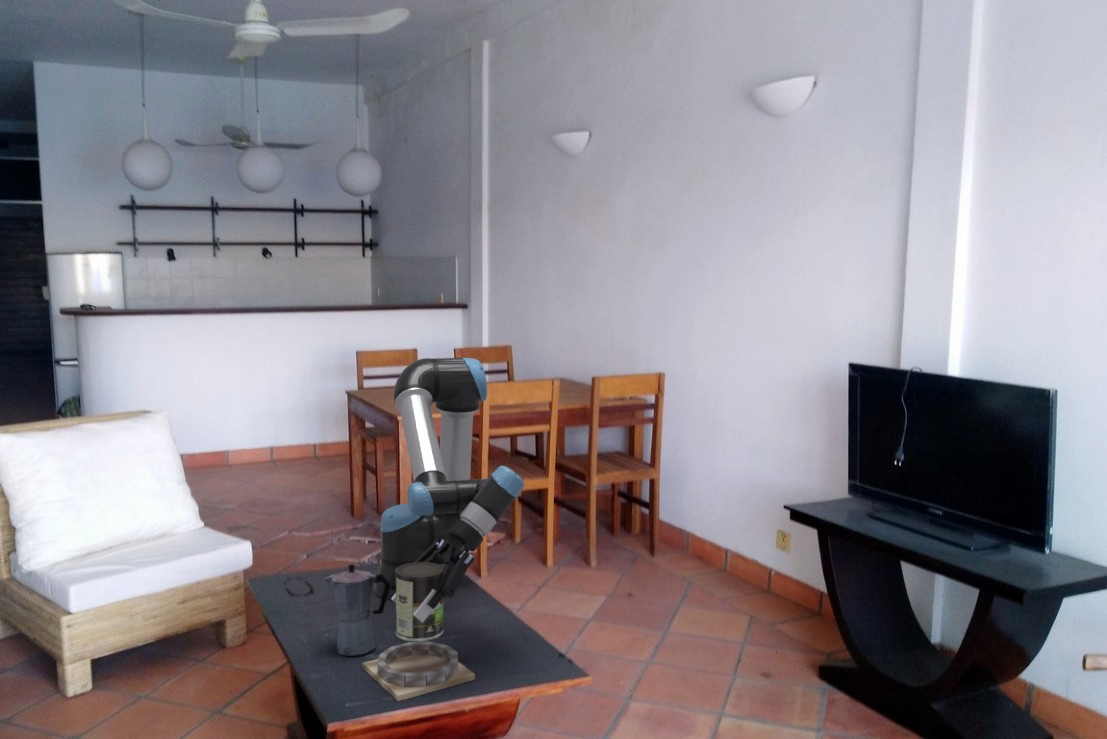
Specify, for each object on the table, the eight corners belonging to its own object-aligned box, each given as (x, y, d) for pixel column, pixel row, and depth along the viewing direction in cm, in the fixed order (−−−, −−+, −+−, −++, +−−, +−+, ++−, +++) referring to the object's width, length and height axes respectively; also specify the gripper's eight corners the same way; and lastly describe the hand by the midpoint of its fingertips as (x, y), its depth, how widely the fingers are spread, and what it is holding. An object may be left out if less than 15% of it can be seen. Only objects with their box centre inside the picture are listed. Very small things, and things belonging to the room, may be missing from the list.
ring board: (362, 668, 194) (362, 652, 194) (435, 649, 205) (436, 634, 204) (397, 701, 180) (398, 684, 179) (474, 679, 190) (475, 663, 190)
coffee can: (449, 625, 195) (450, 563, 193) (434, 644, 184) (434, 578, 183) (405, 621, 197) (405, 559, 195) (387, 639, 187) (387, 574, 185)
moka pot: (330, 639, 209) (330, 557, 207) (395, 641, 209) (395, 559, 206) (318, 656, 200) (317, 570, 197) (386, 658, 199) (386, 573, 197)
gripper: (508, 550, 188) (442, 637, 181) (457, 525, 207) (395, 603, 199) (487, 530, 185) (419, 618, 177) (437, 506, 203) (373, 585, 196)
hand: (406, 610), depth 188 cm, fingers closed on coffee can, 10 cm apart
